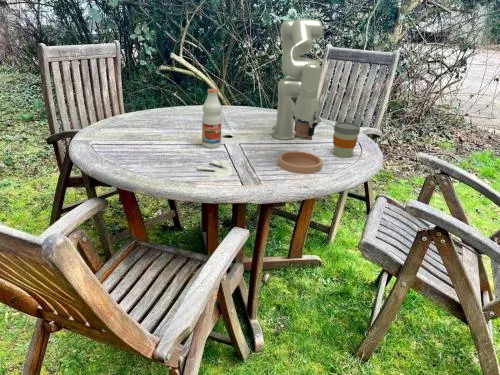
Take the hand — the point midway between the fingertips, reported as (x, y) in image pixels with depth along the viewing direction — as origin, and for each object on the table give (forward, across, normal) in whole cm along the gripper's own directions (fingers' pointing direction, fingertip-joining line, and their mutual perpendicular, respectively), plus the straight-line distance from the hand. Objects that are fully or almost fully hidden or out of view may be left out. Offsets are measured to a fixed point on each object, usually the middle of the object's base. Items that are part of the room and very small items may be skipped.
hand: (303, 133), depth 181 cm
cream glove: (+16, -19, -35) cm, 43 cm away
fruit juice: (+16, -43, -19) cm, 50 cm away
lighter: (+3, 0, 0) cm, 3 cm away
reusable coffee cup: (+16, +2, +30) cm, 34 cm away
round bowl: (+15, 0, 0) cm, 15 cm away
